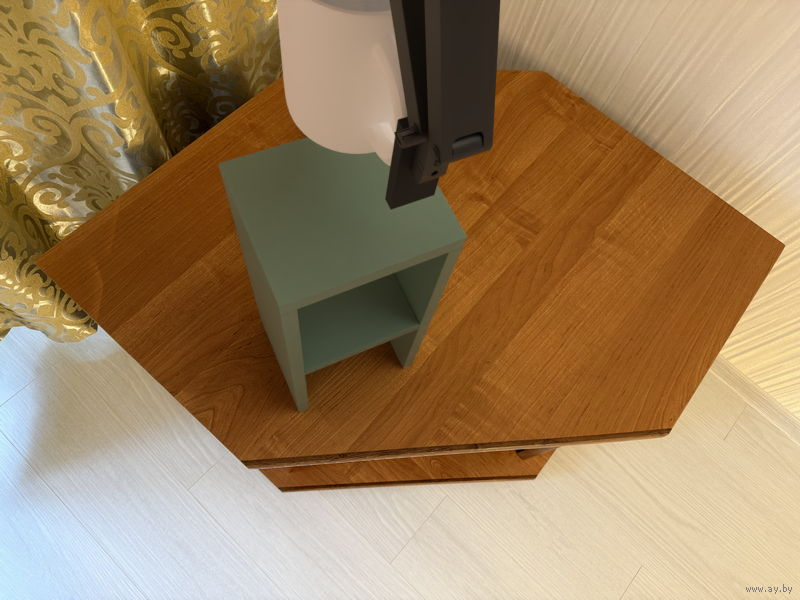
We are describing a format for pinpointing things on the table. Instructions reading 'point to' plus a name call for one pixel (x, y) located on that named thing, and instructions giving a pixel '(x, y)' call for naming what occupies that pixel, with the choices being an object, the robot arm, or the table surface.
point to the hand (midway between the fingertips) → (364, 112)
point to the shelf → (337, 255)
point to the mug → (342, 73)
